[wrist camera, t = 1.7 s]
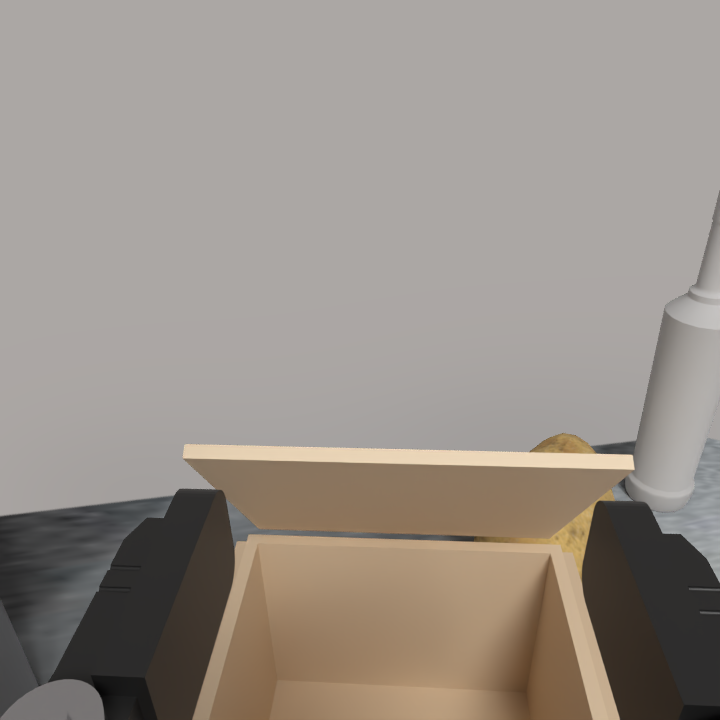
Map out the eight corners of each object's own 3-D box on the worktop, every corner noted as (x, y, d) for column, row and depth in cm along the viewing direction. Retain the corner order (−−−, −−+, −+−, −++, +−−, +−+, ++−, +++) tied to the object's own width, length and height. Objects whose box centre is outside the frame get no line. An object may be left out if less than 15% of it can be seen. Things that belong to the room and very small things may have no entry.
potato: (428, 587, 45) (432, 483, 40) (540, 489, 53) (555, 394, 49) (554, 682, 38) (578, 572, 34) (659, 553, 47) (689, 451, 42)
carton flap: (182, 458, 22) (184, 444, 22) (259, 529, 33) (260, 519, 34) (634, 469, 21) (632, 454, 21) (549, 538, 32) (548, 528, 32)
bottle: (615, 499, 52) (686, 196, 40) (630, 465, 56) (699, 178, 43) (683, 523, 50) (782, 208, 37) (695, 485, 53) (787, 187, 41)
